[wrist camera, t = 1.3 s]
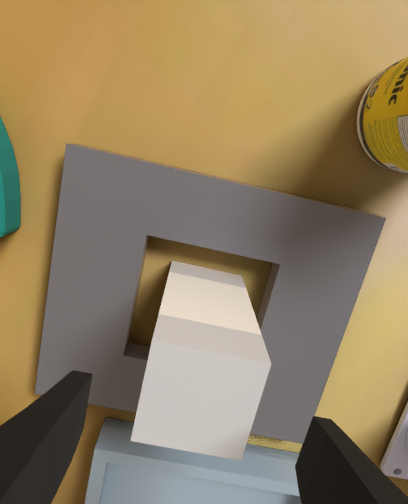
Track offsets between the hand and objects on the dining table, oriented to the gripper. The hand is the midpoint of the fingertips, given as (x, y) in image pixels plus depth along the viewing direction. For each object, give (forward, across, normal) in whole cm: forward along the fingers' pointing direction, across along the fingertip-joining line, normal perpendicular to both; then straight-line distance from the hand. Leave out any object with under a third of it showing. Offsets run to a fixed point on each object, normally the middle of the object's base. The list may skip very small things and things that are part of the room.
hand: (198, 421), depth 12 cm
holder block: (+10, 0, 0) cm, 10 cm away
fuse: (+10, 0, 0) cm, 10 cm away
